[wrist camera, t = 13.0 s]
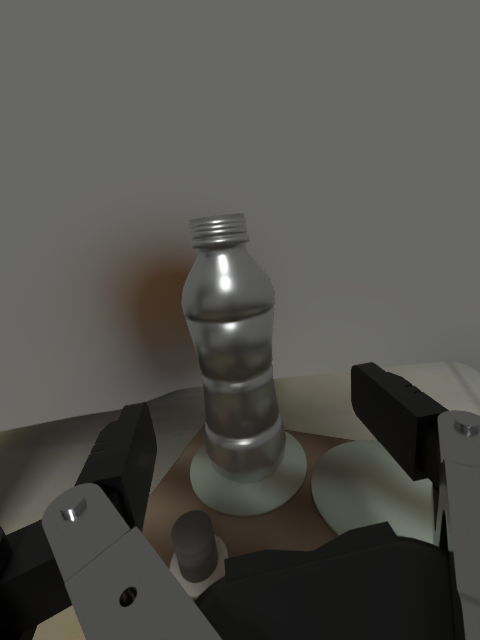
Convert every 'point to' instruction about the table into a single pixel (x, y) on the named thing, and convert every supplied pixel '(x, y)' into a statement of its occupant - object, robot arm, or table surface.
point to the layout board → (279, 505)
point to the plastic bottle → (234, 350)
